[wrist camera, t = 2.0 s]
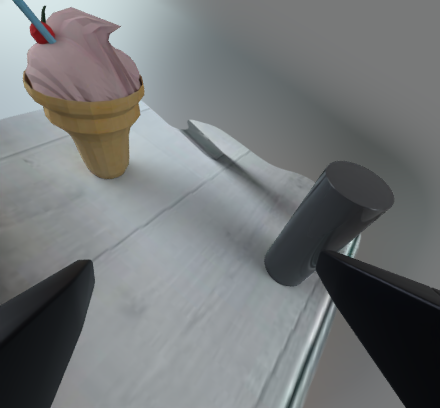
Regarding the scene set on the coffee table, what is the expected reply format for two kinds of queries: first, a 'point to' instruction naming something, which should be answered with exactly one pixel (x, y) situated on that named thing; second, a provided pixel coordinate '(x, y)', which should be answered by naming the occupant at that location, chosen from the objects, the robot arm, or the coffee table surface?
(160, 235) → the coffee table surface
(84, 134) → the ice cream cone
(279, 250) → the dark grey cylinder
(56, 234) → the coffee table surface
